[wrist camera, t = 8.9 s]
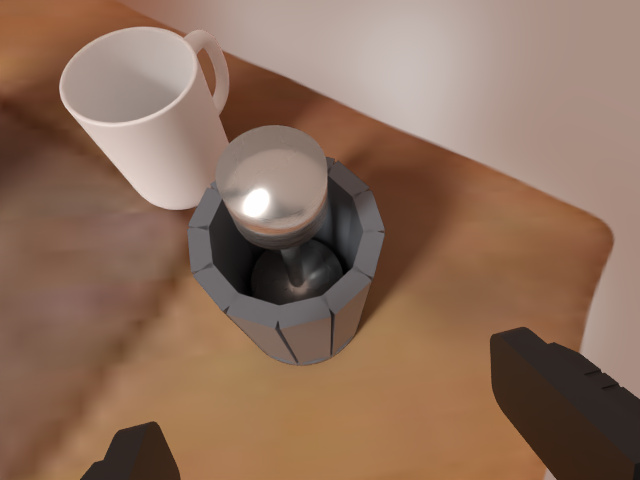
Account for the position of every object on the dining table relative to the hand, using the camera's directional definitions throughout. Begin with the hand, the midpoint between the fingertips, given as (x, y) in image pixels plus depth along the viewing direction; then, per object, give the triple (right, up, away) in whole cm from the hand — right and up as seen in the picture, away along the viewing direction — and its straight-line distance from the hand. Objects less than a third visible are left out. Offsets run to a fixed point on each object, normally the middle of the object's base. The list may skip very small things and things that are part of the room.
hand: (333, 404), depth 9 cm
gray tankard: (-2, +1, +19) cm, 19 cm away
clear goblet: (-2, +1, +14) cm, 14 cm away
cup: (-11, +11, +24) cm, 29 cm away
